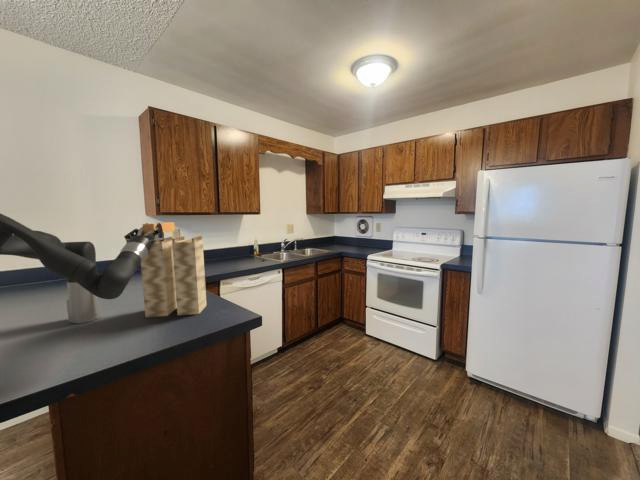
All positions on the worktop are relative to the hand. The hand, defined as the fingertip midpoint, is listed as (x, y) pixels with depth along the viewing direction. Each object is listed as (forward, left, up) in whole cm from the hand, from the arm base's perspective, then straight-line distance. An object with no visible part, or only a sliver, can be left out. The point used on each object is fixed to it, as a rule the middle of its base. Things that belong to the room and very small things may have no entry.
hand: (153, 225), depth 109 cm
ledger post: (+10, +7, -40) cm, 42 cm away
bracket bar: (0, +5, -3) cm, 6 cm away
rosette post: (-3, +7, -40) cm, 40 cm away
